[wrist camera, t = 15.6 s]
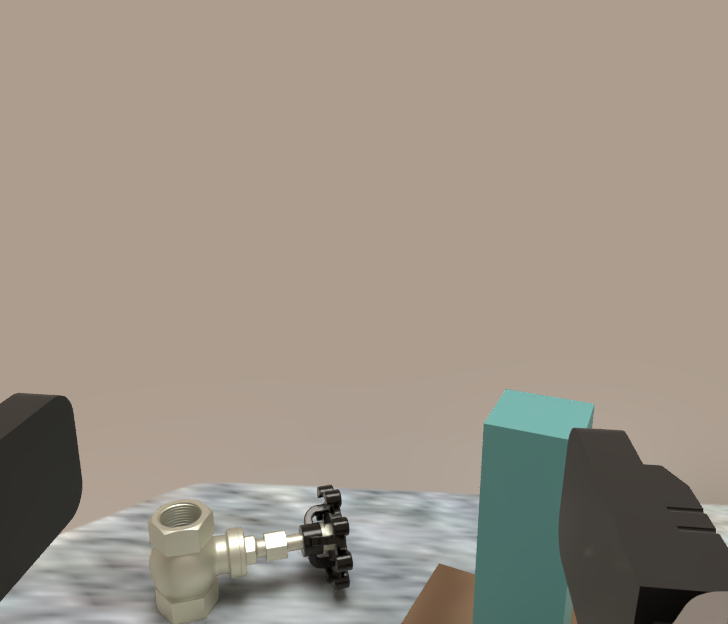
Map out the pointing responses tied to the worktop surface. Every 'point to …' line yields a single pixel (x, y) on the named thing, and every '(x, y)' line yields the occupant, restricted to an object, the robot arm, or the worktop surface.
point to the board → (447, 599)
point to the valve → (234, 552)
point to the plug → (524, 510)
